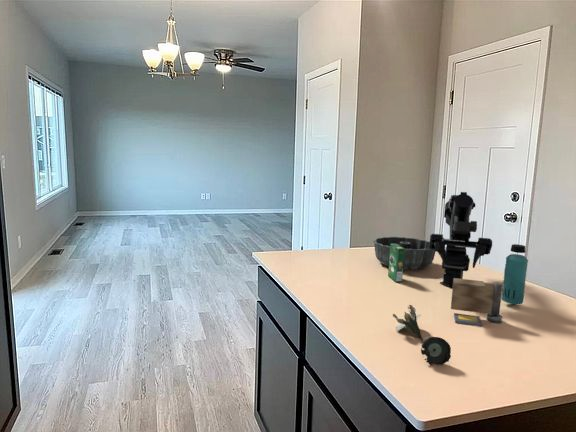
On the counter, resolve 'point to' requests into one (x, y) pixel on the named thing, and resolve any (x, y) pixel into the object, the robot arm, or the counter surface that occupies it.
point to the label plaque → (467, 319)
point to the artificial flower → (432, 346)
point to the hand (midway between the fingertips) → (459, 265)
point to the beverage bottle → (515, 276)
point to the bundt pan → (414, 255)
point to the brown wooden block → (476, 296)
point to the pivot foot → (494, 318)
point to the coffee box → (396, 262)
